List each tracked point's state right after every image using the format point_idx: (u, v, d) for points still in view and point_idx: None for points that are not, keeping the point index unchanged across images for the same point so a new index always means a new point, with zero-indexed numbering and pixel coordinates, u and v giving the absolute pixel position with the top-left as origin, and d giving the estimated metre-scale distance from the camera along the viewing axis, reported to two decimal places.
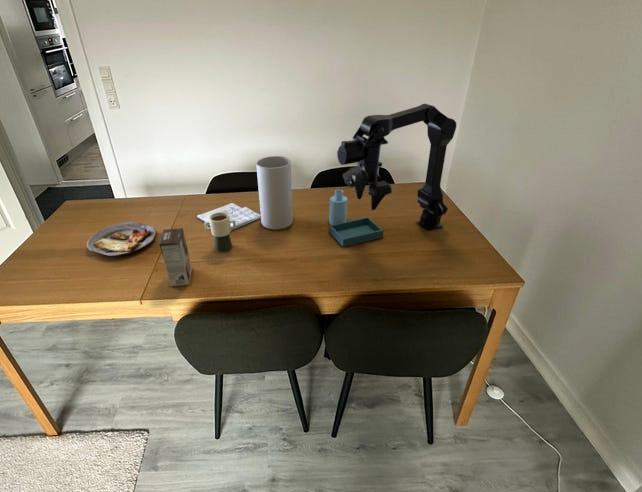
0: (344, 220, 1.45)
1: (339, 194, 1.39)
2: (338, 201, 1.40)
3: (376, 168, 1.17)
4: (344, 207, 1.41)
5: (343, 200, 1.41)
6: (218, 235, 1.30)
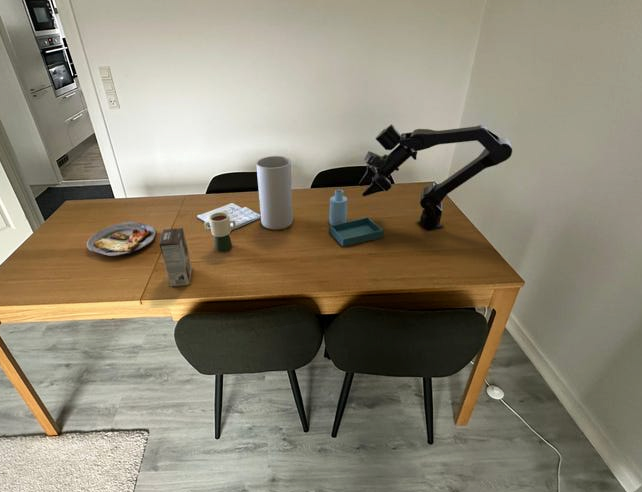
0: (344, 220, 1.45)
1: (339, 194, 1.39)
2: (338, 201, 1.40)
3: (392, 168, 1.31)
4: (344, 207, 1.41)
5: (343, 200, 1.41)
6: (218, 235, 1.30)
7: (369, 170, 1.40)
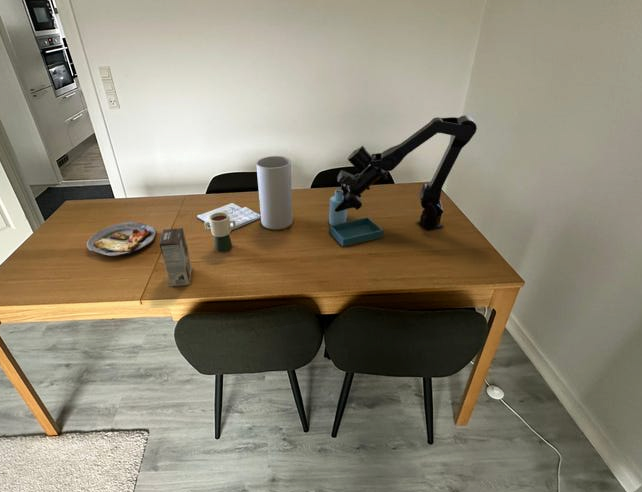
0: (344, 220, 1.45)
1: (339, 194, 1.39)
2: (338, 201, 1.40)
3: (363, 187, 1.36)
4: None
5: None
6: (218, 235, 1.30)
7: (343, 189, 1.44)
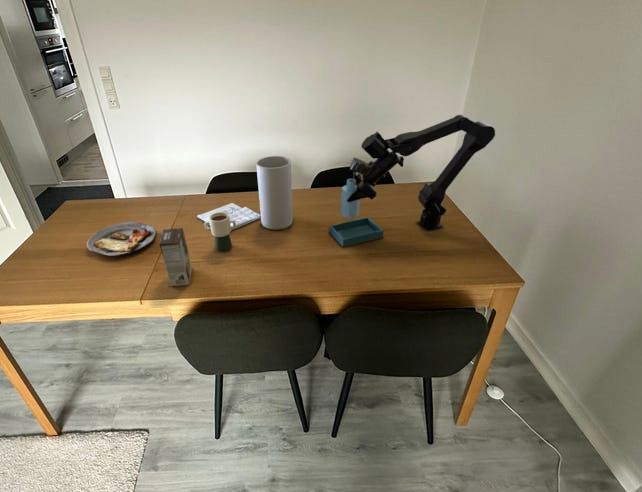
0: (357, 211, 1.36)
1: (352, 183, 1.30)
2: (350, 191, 1.31)
3: (378, 175, 1.27)
4: None
5: None
6: (218, 235, 1.30)
7: (356, 178, 1.35)
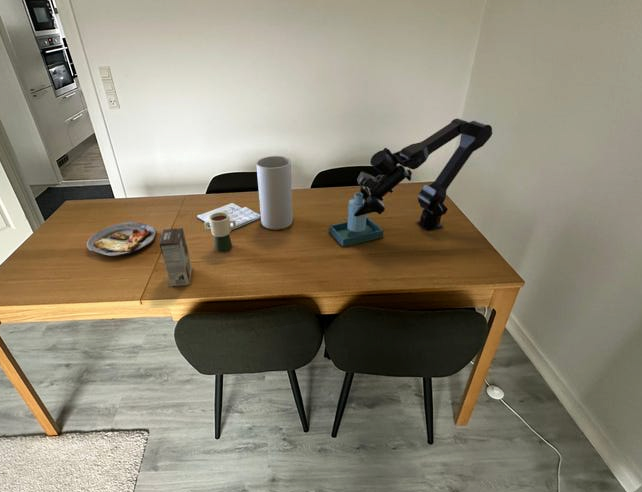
0: (364, 225, 1.34)
1: (359, 197, 1.29)
2: (357, 205, 1.30)
3: (386, 190, 1.25)
4: None
5: None
6: (218, 235, 1.30)
7: (363, 192, 1.33)
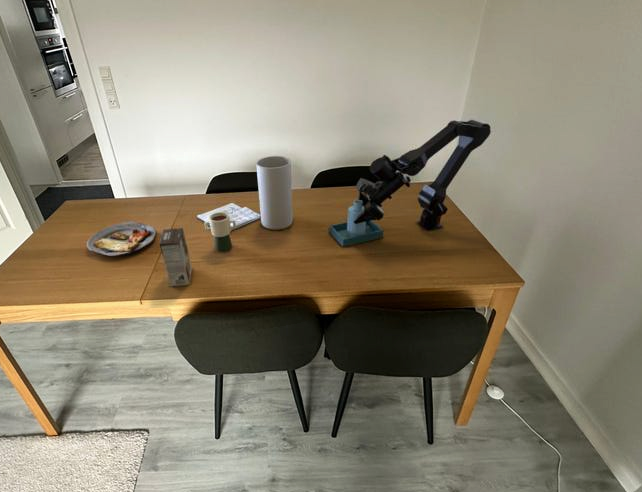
0: (363, 232, 1.36)
1: (359, 204, 1.30)
2: (357, 212, 1.31)
3: (385, 196, 1.27)
4: None
5: (362, 211, 1.32)
6: (218, 235, 1.30)
7: (361, 196, 1.36)
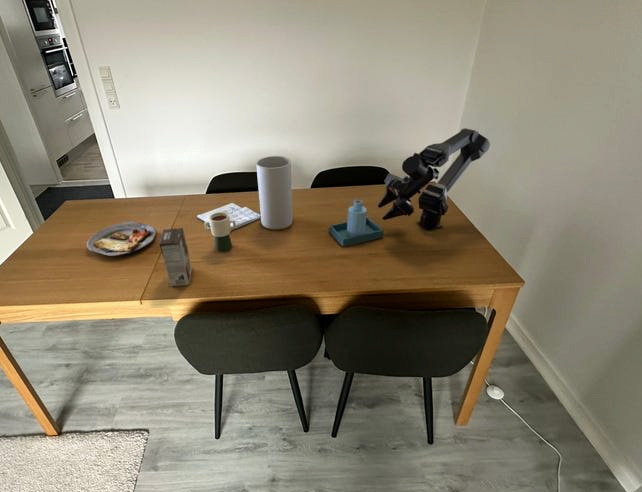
0: (363, 232, 1.36)
1: (359, 204, 1.30)
2: (357, 212, 1.31)
3: (414, 191, 1.25)
4: (363, 218, 1.32)
5: (362, 211, 1.32)
6: (218, 235, 1.30)
7: (389, 191, 1.34)
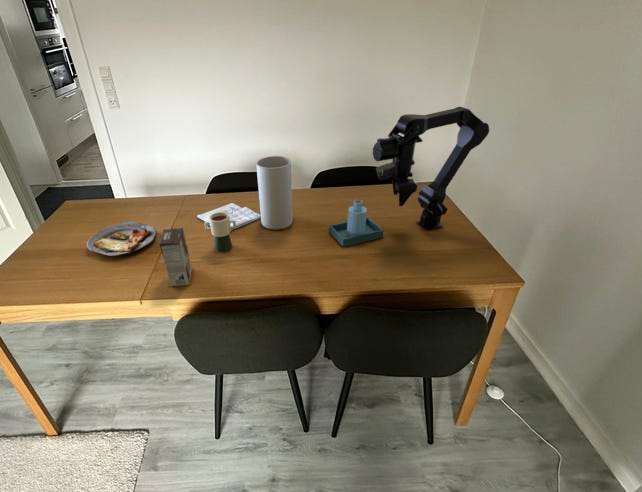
0: (363, 232, 1.36)
1: (359, 204, 1.30)
2: (357, 212, 1.31)
3: (407, 166, 1.22)
4: (363, 218, 1.32)
5: (362, 211, 1.32)
6: (218, 235, 1.30)
7: (393, 177, 1.32)
